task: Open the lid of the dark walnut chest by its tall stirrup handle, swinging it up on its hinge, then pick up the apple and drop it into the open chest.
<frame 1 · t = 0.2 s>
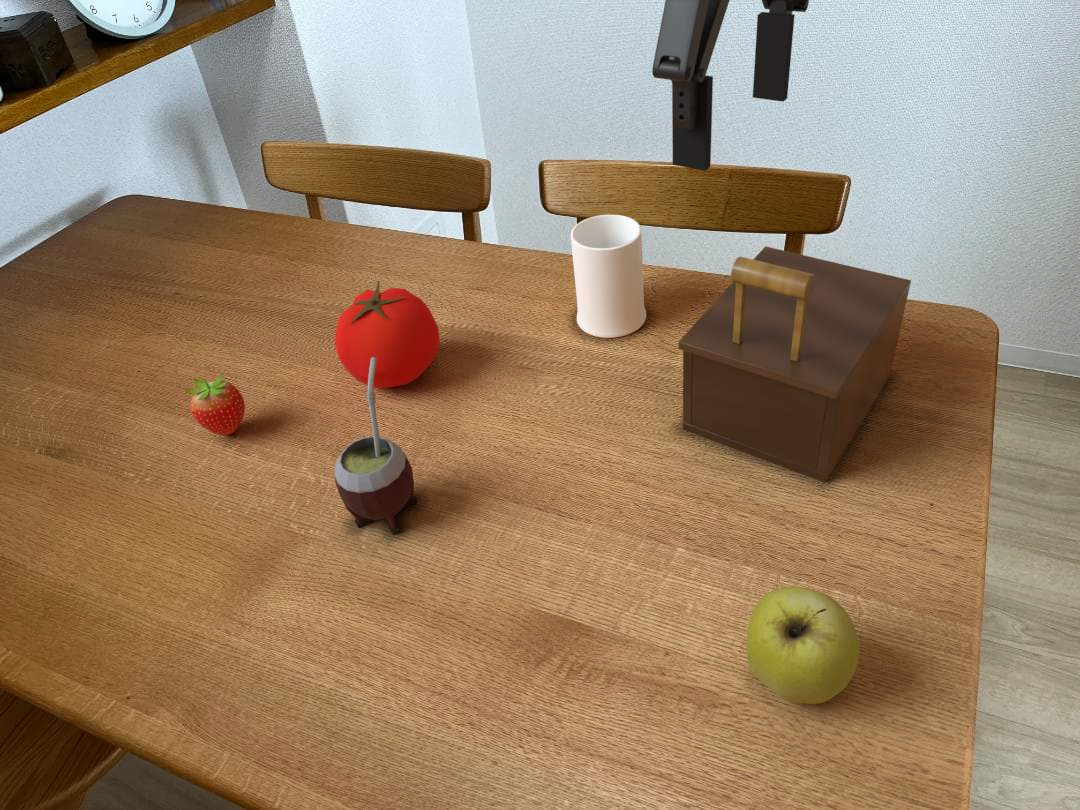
hand: (732, 130, 63), 31 cm above the table, tool pointing down, fingers open, 13 cm apart
chest: (788, 402, 85), on the table
mate gourd: (388, 510, 80), on the table
mug: (615, 311, 101), on the table
tomato: (398, 376, 96), on the table
apple: (794, 677, 62), on the table
fruit: (232, 434, 91), on the table
lid: (801, 275, 74), point 16 cm above the table, hinge at 0.0°
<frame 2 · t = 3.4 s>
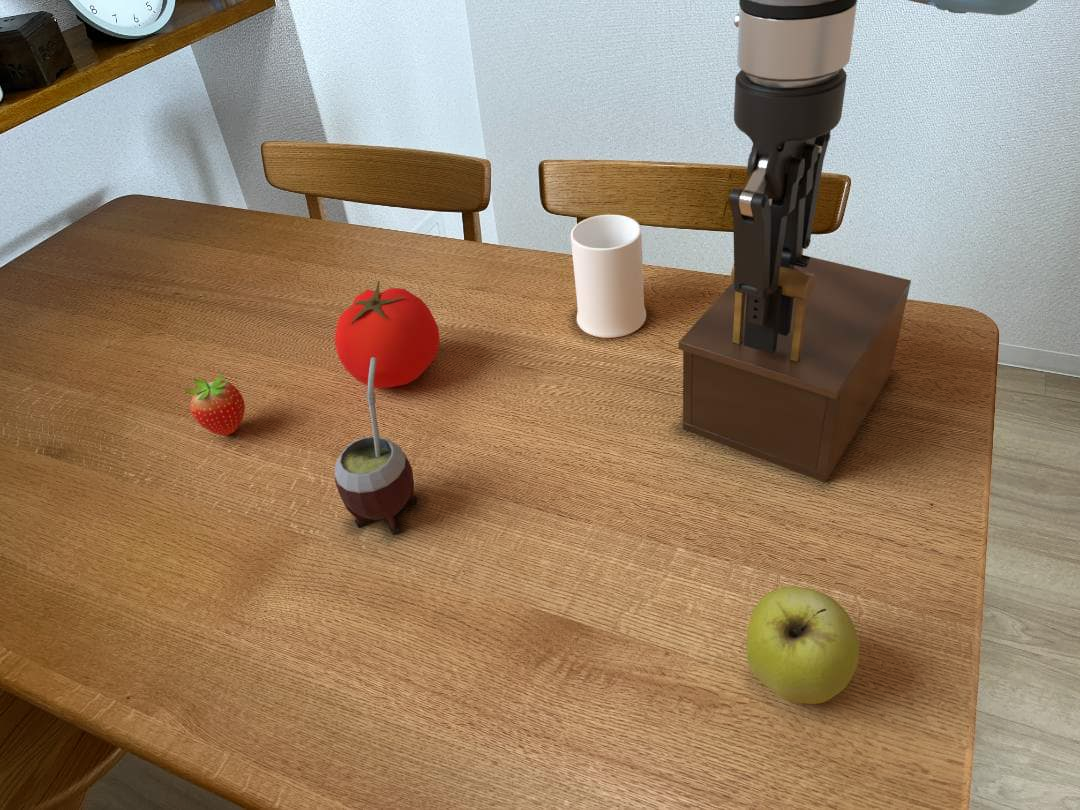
hand: (766, 338, 72), 13 cm above the table, tool pointing down, fingers closed on lid, 2 cm apart
lid: (801, 275, 74), point 16 cm above the table, hinge at 0.0°, touching gripper
everything else where it was.
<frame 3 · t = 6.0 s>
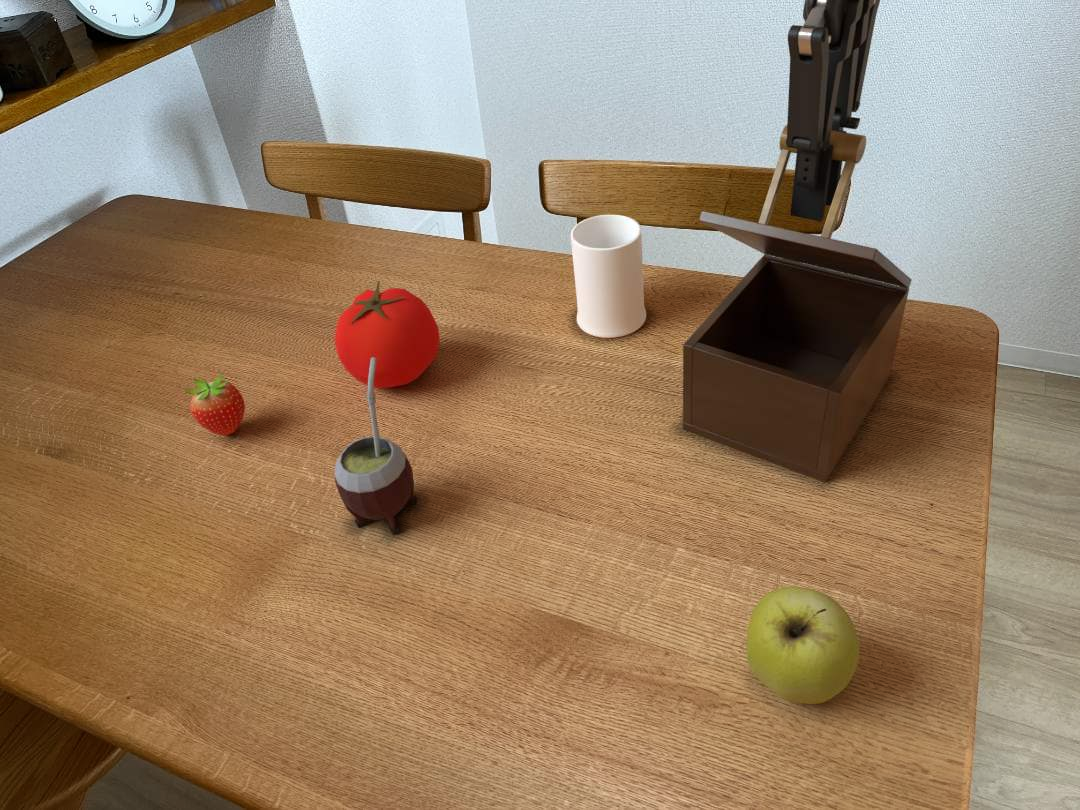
hand: (813, 208, 71), 22 cm above the table, tool pointing down, fingers closed on lid, 2 cm apart
lid: (826, 204, 73), point 21 cm above the table, hinge at 37.5°, touching gripper
everything else where it was.
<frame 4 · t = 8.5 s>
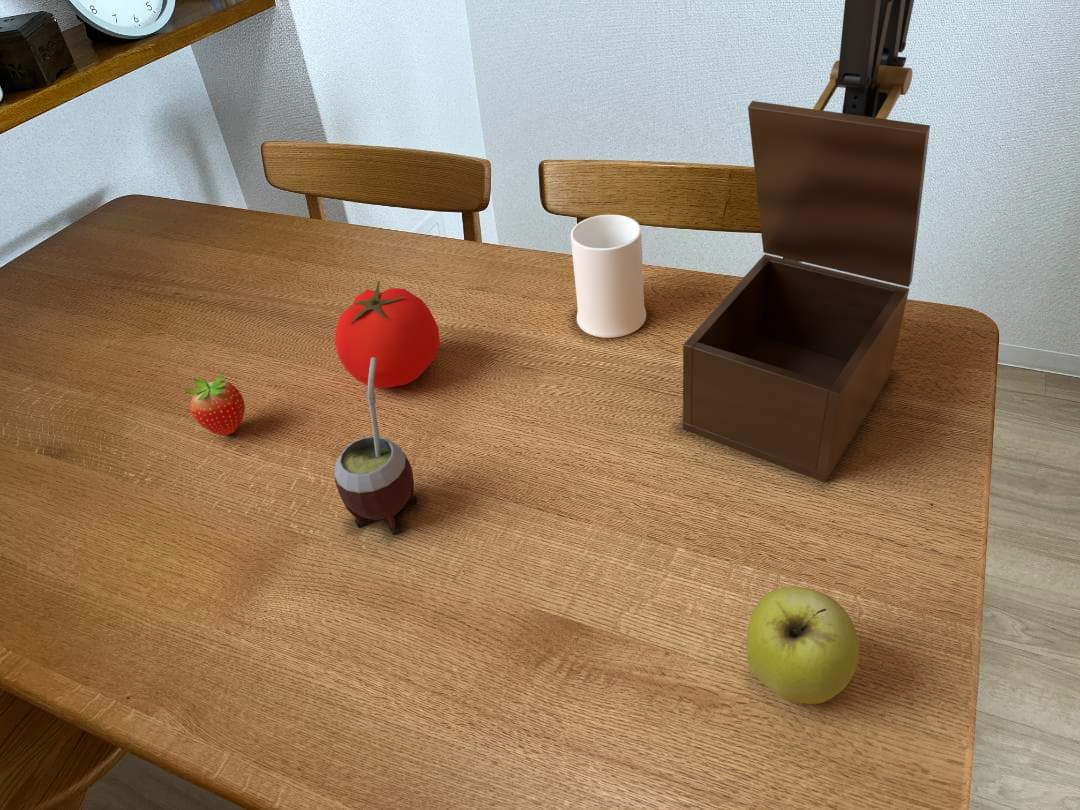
hand: (859, 146, 76), 23 cm above the table, tool pointing down, fingers open, 3 cm apart
lid: (852, 165, 76), point 22 cm above the table, hinge at 71.4°
everything else where it was.
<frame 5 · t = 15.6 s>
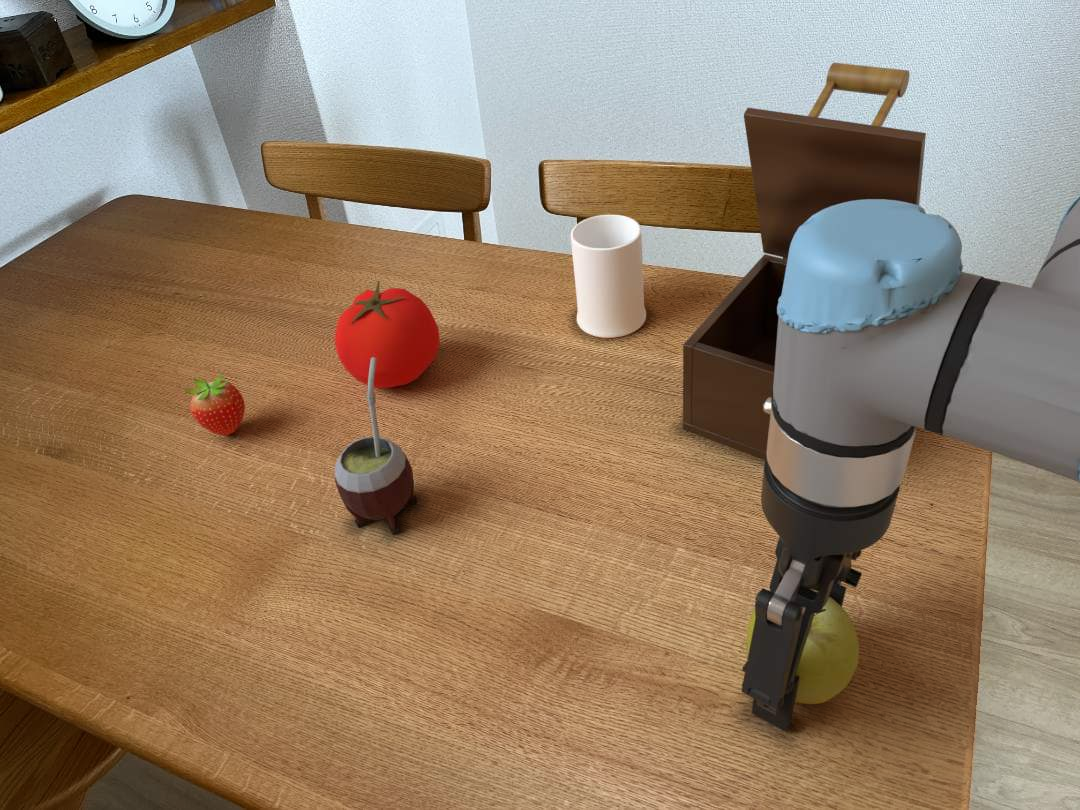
hand: (794, 673, 61), 0 cm above the table, tool pointing down, fingers closed on apple, 8 cm apart
apple: (794, 677, 62), on the table, touching gripper
lid: (850, 167, 76), point 22 cm above the table, hinge at 68.7°
everything else where it was.
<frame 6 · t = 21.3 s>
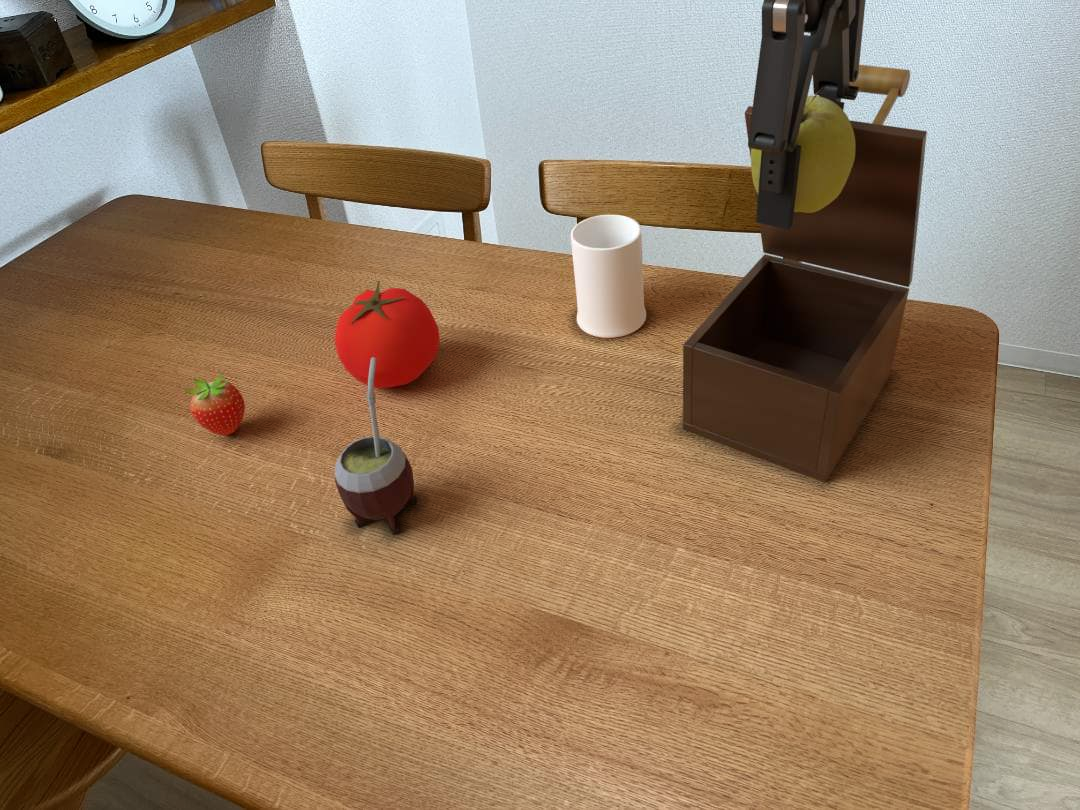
hand: (795, 199, 66), 25 cm above the table, tool pointing down, fingers closed on apple, 8 cm apart
apple: (794, 204, 66), point 25 cm above the table, touching gripper
lid: (851, 167, 76), point 22 cm above the table, hinge at 69.3°, touching gripper
everything else where it was.
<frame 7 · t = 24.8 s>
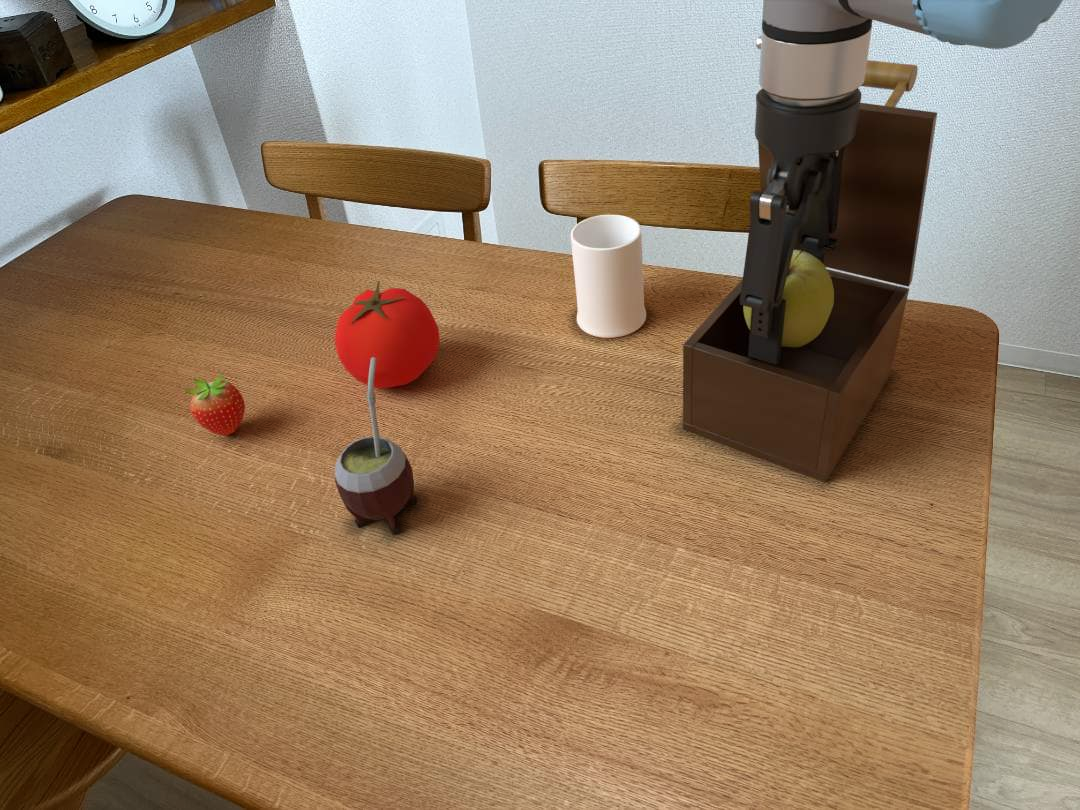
hand: (783, 333, 75), 11 cm above the table, tool pointing down, fingers closed on apple, 8 cm apart
apple: (782, 337, 76), point 11 cm above the table, touching gripper
lid: (855, 163, 77), point 22 cm above the table, hinge at 76.3°
everything else where it was.
when the fingers open (11 cm above the table, at t = 24.9 s): apple drops 10 cm, resting on chest.
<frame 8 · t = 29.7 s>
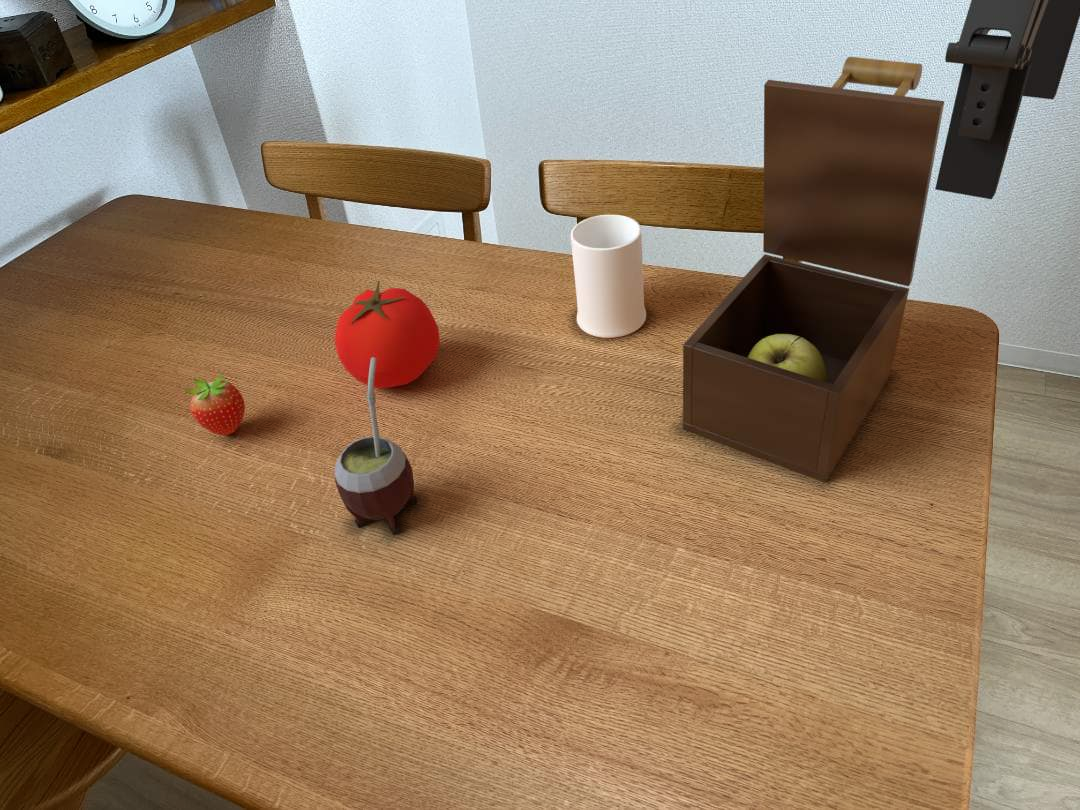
hand: (999, 139, 45), 37 cm above the table, tool pointing down, fingers open, 13 cm apart
apple: (779, 410, 83), point 1 cm above the table, touching chest
lid: (859, 161, 77), point 21 cm above the table, hinge at 81.5°
everything else where it was.
at the end: lid at +82° (first picture: +0°); apple inside the target area in the chest (2.5 cm from its centre), point 0.8 cm above the chest's base; the gripper is holding nothing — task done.
